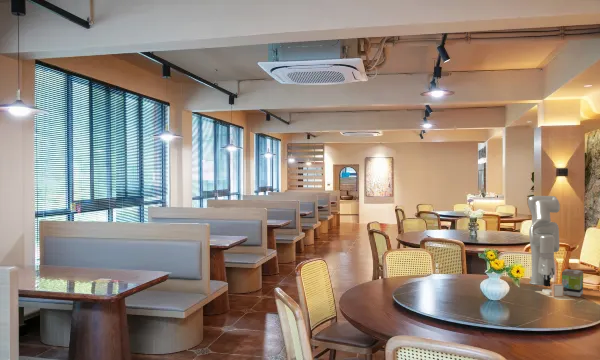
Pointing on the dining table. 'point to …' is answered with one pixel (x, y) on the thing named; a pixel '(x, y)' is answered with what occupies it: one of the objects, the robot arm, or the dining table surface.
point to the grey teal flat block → (547, 291)
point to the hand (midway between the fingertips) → (546, 286)
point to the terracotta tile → (557, 290)
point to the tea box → (572, 282)
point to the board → (556, 297)
